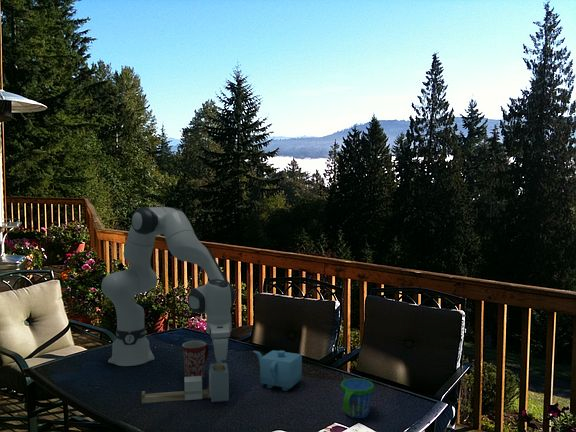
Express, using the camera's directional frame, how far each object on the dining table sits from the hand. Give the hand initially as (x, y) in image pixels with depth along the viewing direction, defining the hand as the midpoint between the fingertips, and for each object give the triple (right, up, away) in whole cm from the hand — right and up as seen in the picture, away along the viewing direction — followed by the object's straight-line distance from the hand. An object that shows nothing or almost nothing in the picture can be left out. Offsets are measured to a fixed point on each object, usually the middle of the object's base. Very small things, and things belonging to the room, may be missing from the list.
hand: (219, 364), depth 186 cm
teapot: (+19, -11, +12) cm, 25 cm away
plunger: (0, -5, 0) cm, 5 cm away
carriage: (-9, -11, -1) cm, 14 cm away
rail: (-15, -11, -2) cm, 19 cm away
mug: (-11, -10, +19) cm, 24 cm away
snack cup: (+47, -12, -14) cm, 50 cm away
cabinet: (0, -11, +1) cm, 11 cm away
